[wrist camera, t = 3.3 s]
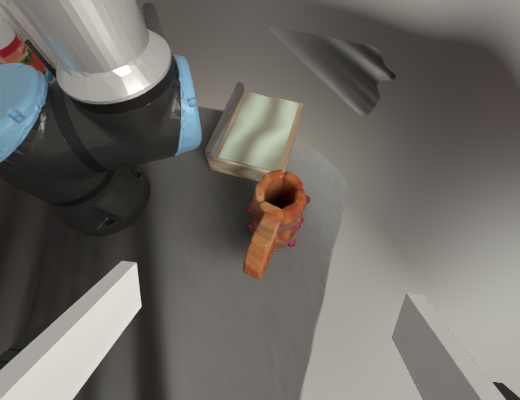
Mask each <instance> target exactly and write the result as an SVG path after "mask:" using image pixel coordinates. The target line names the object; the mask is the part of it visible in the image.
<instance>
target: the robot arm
mask: <svg viewBox="0 0 520 400" xmlns="http://www.w3.org/2000/svg"><path fill="white" fill-rule="evenodd" d="M12 1H13V2H14V4H15V5H16V6H17V7H18V9H19V10H20V11H21V12H22V14H23V15H24V16H25V17H26V19H27V20H28V21H29V22H30V24H31V25H32V26H33V27H34V29H35V30H36V31H37V33H38V34H39V35H40V36H41V38H42V39H43V40H44V41H45V43H46V44H47V45H48V46H49V48H50V49H51V50H52V51H53V53H54V54H55V55H56V56H57V58H58V59H59V60H58V65H57V70H56V79H57V80H54V81H48V80H47V78H46V77H45V75H44V74H43V73H42V72H40V71H38V70H36V69H35V68H34V67H32V66H29V65H25V64H23V63H7V64H2V65H0V179H2V180H4V181H6V182H8V183H10V184H12V185H14V186H16V187H18V188H20V189H22V190H24V191H26V192H28V193H30V194H32V195H34V196H36V197H38V198H39V199H41V200H44V201H45V202H47V203H49V204H50V205H51V206H52V208H53V209H54V210H55V212H56V213H57V214H58V215H59V217H60V218H61V219H62V221H63V222H64V223H65V224H66V225H68V226H69V227H70V228H72V229H74V230H76V231H78V232H80V233H82V234H85V235H89V236H105V235H110V234H113V233H116V232H118V231H120V230H122V229H124V228H126V227H127V226H129V225H130V224H131V223H133V222H134V221H135V220H136V219H137V218H138V217H139V216H140V214H141V213H142V212H143V210H144V209H145V207H146V205H147V202H148V200H149V195H150V185H149V181H148V179H147V177H146V175H145V174H144V173H143V171H142V170H141V169H140V168H139V167H138V166H137V164H142V163H146V162H151V161H155V160H159V159H164V158H168V157H173V156H178V155H179V154H181V153H184V152H188V151H191V150H194V149H196V148H197V147H198V146H199V145H200V143H201V139H202V134H201V125H200V118H199V113H198V107H197V103H196V98H195V91H194V86H193V81H192V77H191V73H190V69H189V65H188V62H187V60H186V59H185V57H183V56H177V55H174V56H172V54H171V51H170V48H169V46H168V44H167V43H166V41H165V40H164V39H163V38H162V37H161V36H159V35H158V34H156V33H154V32H152V31H150V30H148V29H146V26H145V24H144V21H143V19H142V17H141V14H140V12H139V9H138V7H137V4H136V2H135V0H12ZM140 308H141V298H140V289H139V280H138V271H137V263H136V262H127V261H121V262H120V263H119V264H118V265H117V266H116V267H114V268H113V269H112V270H111V271H110V272H109V273H108V274H107V275H106V276H104V277H103V278H102V279H101V280H100V281H99V282H98V283H97V284H96V285H94V286H93V287H92V288H91V289H90V290H89V291H88V292H87V293H86V294H84V295H83V296H82V297H81V298H80V299H79V300H78V301H77V302H76V303H74V304H73V305H72V306H71V307H70V308H69V309H68V310H67V311H66V312H64V313H63V314H62V315H61V316H60V317H59V318H58V319H57V320H56V321H54V322H53V323H52V324H51V325H47V324H42V325H41V326H39V327H37V328H35V329H34V330H32V331H30V332H29V333H27V334H25V335H24V336H23V337H21V338H20V339H19V340H18V341H17V342H16V343H14V344H13V345H12V346H11V347H10V348H9V350H8V351H5V352H4V353H3V354H1V355H0V400H73V398H74V397H75V396H76V394H77V393H78V392H79V390H80V389H81V387H82V386H83V385H84V383H85V382H86V381H87V379H88V378H89V377H90V375H91V374H92V373H93V371H94V370H95V369H96V367H97V366H98V365H99V363H100V362H101V360H102V359H103V358H104V356H105V355H106V354H107V352H108V351H109V350H110V348H111V347H112V346H113V344H114V343H115V342H116V340H117V339H118V338H119V336H120V335H121V333H122V332H123V331H124V329H125V328H126V327H127V325H128V324H129V323H130V321H131V320H132V319H133V317H134V316H135V315H136V313H137V312H138V311H139V309H140ZM392 339H393V341H394V343H395V345H396V347H397V348H398V351H399V353H400V355H401V357H402V359H403V361H404V363H405V365H406V366H407V369H408V371H409V373H410V375H411V377H412V379H413V381H414V383H415V385H416V387H417V389H418V391H419V393H420V395H421V397H422V399H423V400H520V398H519V397H518V396H517V395H516V394H514V393H513V392H512V391H511V390H509V388H507V387H506V386H505V385H504V384H503V383H497V382H491V380H490V379H489V377H488V376H487V375H486V374H485V372H484V371H483V370H482V369H481V367H480V366H479V365H478V364H477V362H476V361H475V360H474V358H473V357H472V356H471V355H470V353H469V352H468V351H467V350H466V348H465V347H464V346H463V345H462V343H461V342H460V341H459V339H458V338H457V337H456V336H455V334H454V333H453V332H452V331H451V330H450V328H449V327H448V326H447V324H446V323H445V322H444V320H443V319H442V318H441V317H440V316H439V314H438V313H437V312H436V310H435V309H434V308H433V307H432V305H431V304H430V303H429V301H428V300H427V299H426V298H425V297H424V295H421V294H412V293H406V296H405V298H404V302H403V305H402V308H401V311H400V314H399V317H398V320H397V323H396V327H395V329H394V333H393V335H392Z"/></svg>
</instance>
